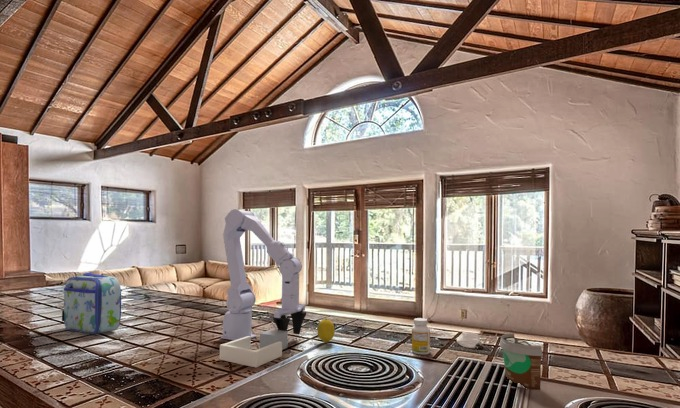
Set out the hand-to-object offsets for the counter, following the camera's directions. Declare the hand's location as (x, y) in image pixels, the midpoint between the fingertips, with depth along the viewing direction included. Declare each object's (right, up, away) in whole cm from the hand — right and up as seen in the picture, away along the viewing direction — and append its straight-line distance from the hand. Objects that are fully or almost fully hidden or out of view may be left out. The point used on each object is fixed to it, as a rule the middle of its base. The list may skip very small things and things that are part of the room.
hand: (290, 336), depth 125 cm
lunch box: (-76, -4, +15) cm, 78 cm away
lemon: (+12, -2, -1) cm, 12 cm away
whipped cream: (+58, -2, -3) cm, 58 cm away
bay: (-9, -1, -16) cm, 18 cm away
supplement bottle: (+41, -1, -11) cm, 42 cm away
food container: (+59, +1, -34) cm, 68 cm away
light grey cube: (-4, -1, -7) cm, 9 cm away
